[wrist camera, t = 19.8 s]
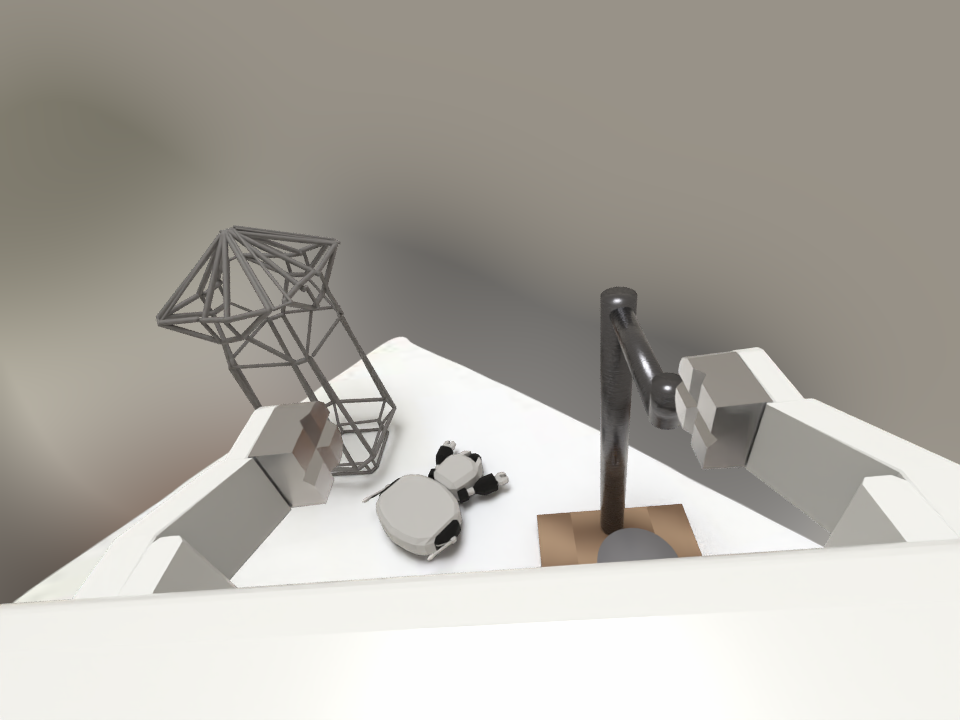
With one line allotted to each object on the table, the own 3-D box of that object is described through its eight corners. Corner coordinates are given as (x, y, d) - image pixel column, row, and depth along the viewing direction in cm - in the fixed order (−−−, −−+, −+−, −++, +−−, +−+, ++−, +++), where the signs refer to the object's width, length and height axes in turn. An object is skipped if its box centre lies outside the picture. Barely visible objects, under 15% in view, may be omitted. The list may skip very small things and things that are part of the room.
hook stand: (653, 641, 39) (701, 391, 20) (625, 643, 39) (648, 397, 21) (620, 515, 48) (632, 269, 30) (598, 516, 49) (597, 274, 30)
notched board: (745, 681, 37) (749, 675, 36) (553, 687, 38) (552, 681, 38) (680, 511, 49) (681, 503, 48) (538, 522, 51) (536, 515, 50)
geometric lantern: (389, 498, 57) (252, 255, 36) (284, 498, 61) (103, 276, 39) (417, 411, 69) (328, 189, 48) (329, 415, 73) (208, 210, 51)
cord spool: (667, 672, 38) (681, 619, 31) (592, 646, 40) (590, 592, 34) (670, 598, 42) (684, 538, 36) (603, 579, 45) (603, 520, 38)
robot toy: (450, 450, 63) (366, 522, 55) (445, 428, 61) (356, 500, 52) (517, 493, 56) (431, 583, 47) (514, 469, 53) (423, 560, 45)
